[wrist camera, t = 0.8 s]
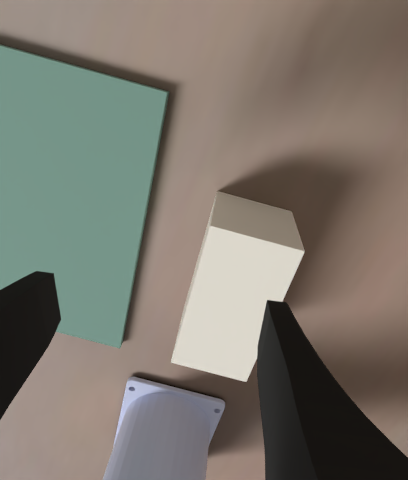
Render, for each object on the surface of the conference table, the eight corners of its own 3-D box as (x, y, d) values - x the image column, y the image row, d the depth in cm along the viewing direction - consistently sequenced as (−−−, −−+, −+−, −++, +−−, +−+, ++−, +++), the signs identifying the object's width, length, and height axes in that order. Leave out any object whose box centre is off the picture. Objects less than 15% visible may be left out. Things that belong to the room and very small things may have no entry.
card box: (245, 324, 25) (246, 382, 20) (183, 308, 24) (170, 362, 20) (291, 210, 20) (304, 251, 16) (217, 190, 20) (210, 225, 16)
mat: (122, 342, 26) (119, 348, 26) (-87, 287, 26) (-94, 292, 25) (169, 91, 18) (167, 92, 17) (-138, 5, 18) (-150, 3, 17)
